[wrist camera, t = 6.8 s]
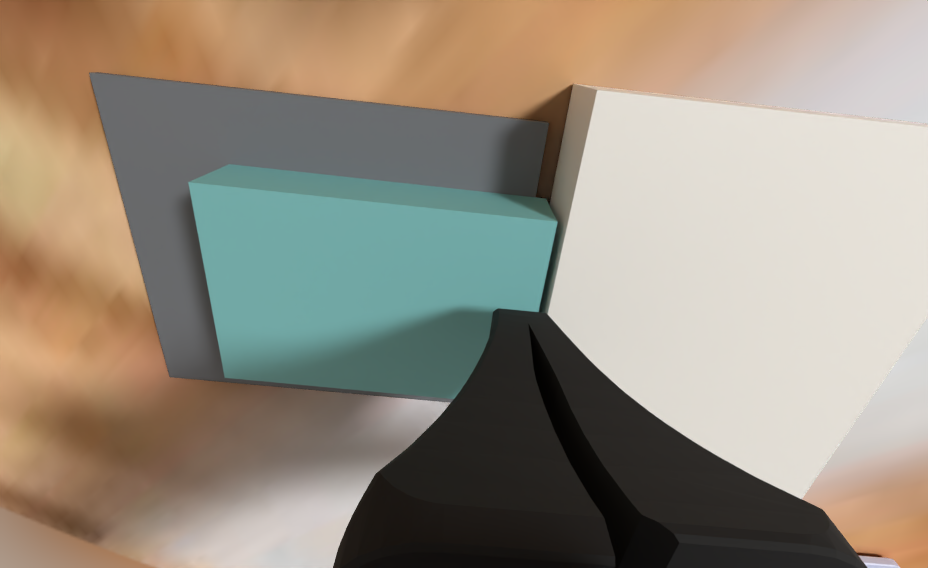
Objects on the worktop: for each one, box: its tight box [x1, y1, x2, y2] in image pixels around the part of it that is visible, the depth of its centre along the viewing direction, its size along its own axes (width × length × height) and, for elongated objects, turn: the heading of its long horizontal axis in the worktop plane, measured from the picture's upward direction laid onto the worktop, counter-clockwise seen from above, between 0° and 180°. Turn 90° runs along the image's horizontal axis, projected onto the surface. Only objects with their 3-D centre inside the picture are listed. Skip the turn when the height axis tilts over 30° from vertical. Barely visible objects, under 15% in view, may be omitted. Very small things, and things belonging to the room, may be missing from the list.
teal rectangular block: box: [188, 164, 558, 399], centre depth 13 cm, size 6×9×2 cm, turn 84°
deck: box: [539, 84, 928, 499], centre depth 13 cm, size 12×10×2 cm
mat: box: [89, 72, 549, 402], centre depth 14 cm, size 10×12×1 cm
